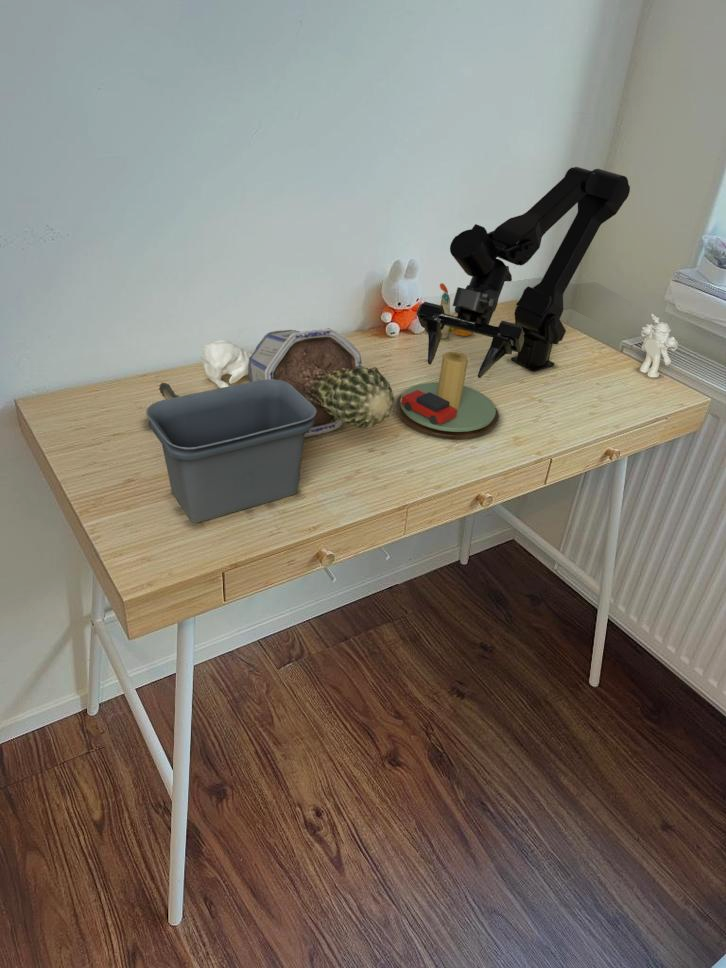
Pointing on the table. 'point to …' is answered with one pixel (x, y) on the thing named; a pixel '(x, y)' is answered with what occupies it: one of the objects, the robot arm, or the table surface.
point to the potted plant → (324, 377)
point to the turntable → (448, 400)
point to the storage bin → (232, 445)
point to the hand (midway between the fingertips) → (453, 370)
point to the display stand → (444, 434)
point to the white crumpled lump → (224, 361)
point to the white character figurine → (656, 346)
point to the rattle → (446, 306)
